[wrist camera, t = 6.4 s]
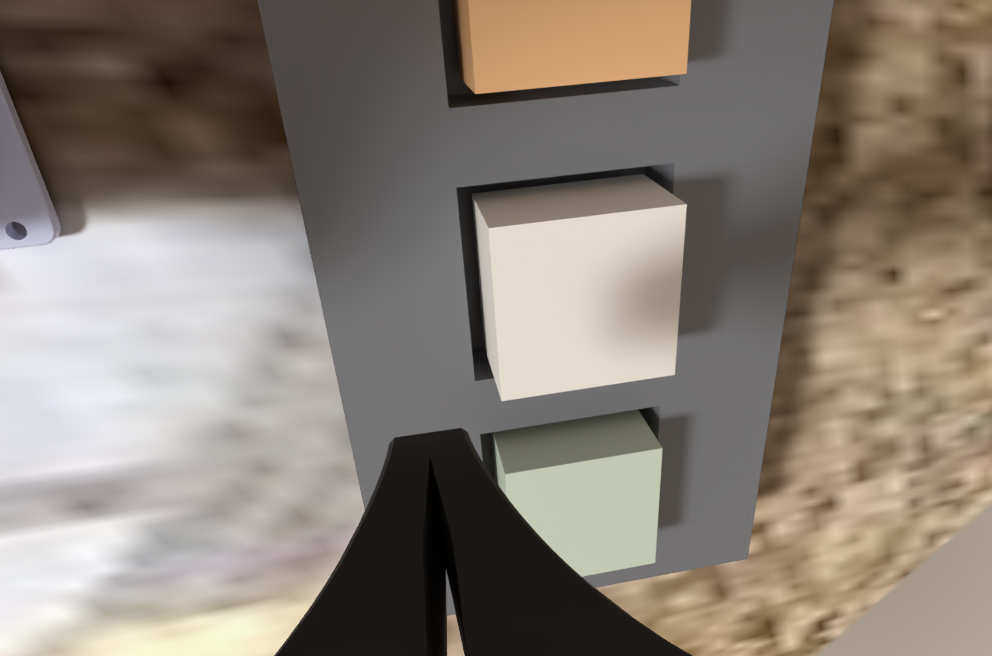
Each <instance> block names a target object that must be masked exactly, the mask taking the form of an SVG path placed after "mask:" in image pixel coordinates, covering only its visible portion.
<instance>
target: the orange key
mask: <svg viewBox="0 0 992 656" xmlns="http://www.w3.org/2000/svg"><path fill="white" fill-rule="evenodd" d="M453 9H454V21H455V32H456V43H457V55H458V66H459V78H460V79H461V80H462V81H463V82H464V83H465V84H466V85H467V86H468V87H469V88H470V89H471V90H472V91H473V92H474V93H475V94H483V93H493V92H503V91H514V90H524V89H534V88H545V87H555V86H565V85H576V84H586V83H596V82H607V81H617V80H627V79H638V78H648V77H658V76H669V75H679V74H687V59H688V44H689V28H690V13H691V0H453Z"/></svg>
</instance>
